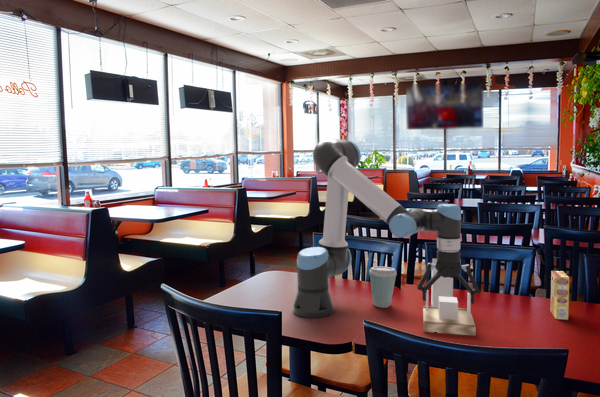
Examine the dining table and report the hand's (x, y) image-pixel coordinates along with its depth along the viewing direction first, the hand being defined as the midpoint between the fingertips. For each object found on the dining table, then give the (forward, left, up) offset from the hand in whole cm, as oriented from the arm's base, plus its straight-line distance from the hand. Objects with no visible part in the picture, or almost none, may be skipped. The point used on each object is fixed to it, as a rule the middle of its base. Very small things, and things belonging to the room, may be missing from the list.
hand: (447, 311), depth 153 cm
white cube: (0, 0, -2) cm, 2 cm away
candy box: (+39, +17, -5) cm, 43 cm away
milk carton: (-1, +17, -5) cm, 18 cm away
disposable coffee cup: (-23, +16, -5) cm, 28 cm away
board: (0, 0, -5) cm, 5 cm away
